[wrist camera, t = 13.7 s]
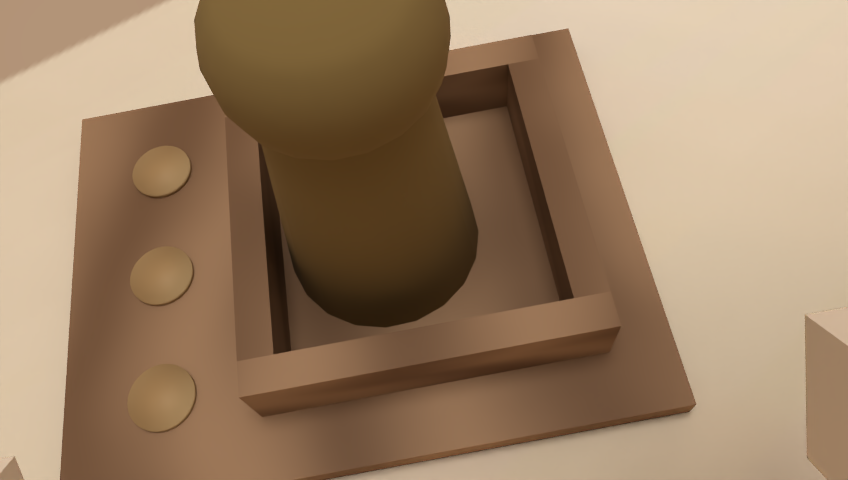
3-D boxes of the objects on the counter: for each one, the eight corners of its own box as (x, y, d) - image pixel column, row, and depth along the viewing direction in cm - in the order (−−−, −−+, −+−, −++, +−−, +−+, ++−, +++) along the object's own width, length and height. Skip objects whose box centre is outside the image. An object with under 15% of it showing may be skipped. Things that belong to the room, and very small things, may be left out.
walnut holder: (566, 43, 27) (574, -18, 25) (689, 411, 21) (717, 382, 18) (93, 132, 27) (49, 80, 25) (72, 526, 21) (10, 514, 18)
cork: (362, 131, 25) (280, -170, 16) (514, 209, 23) (529, -77, 14) (253, 267, 23) (80, 19, 14) (409, 364, 21) (339, 158, 12)
